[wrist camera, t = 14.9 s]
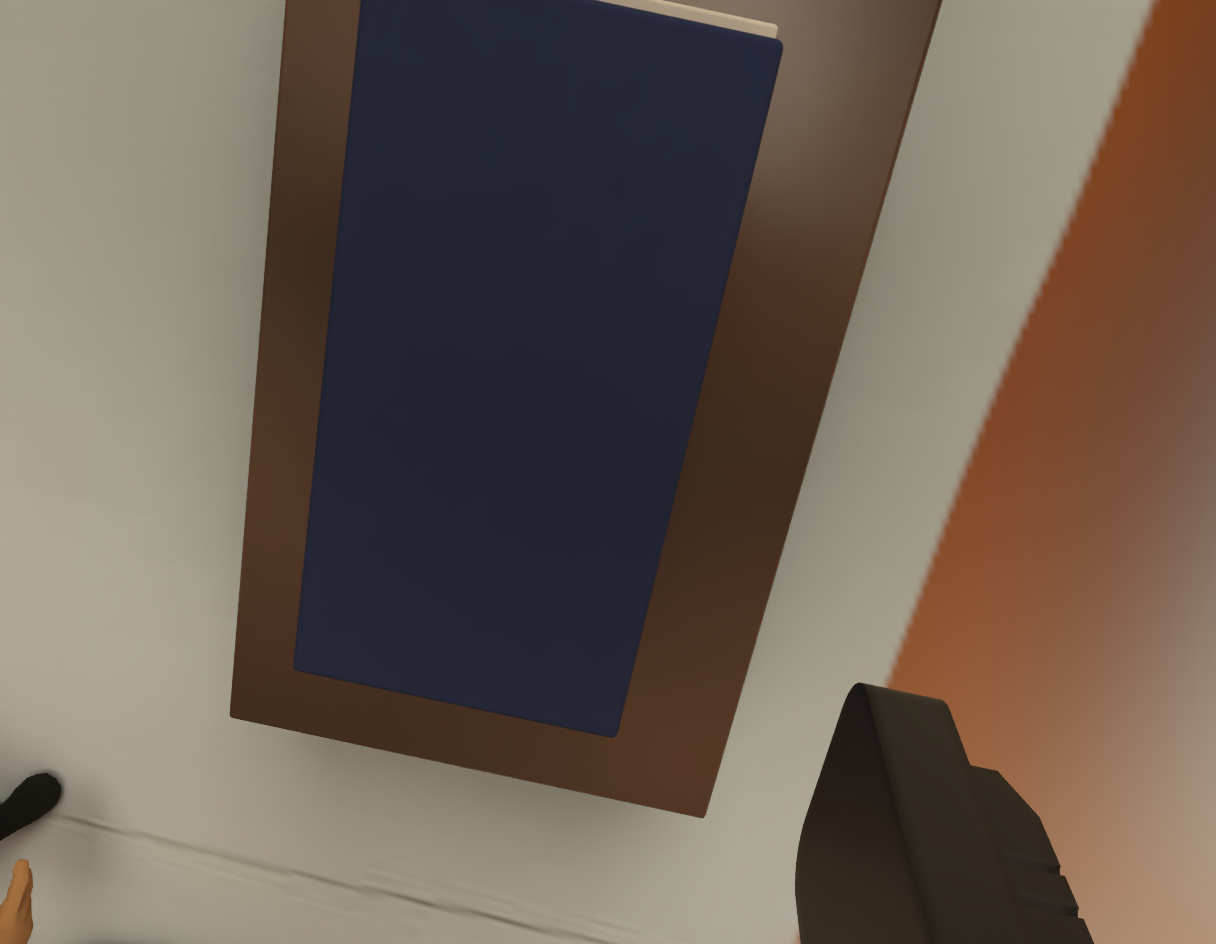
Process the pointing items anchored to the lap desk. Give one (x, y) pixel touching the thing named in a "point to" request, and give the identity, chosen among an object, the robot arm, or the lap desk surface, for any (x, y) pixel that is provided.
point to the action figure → (11, 924)
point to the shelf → (720, 436)
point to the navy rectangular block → (520, 339)
